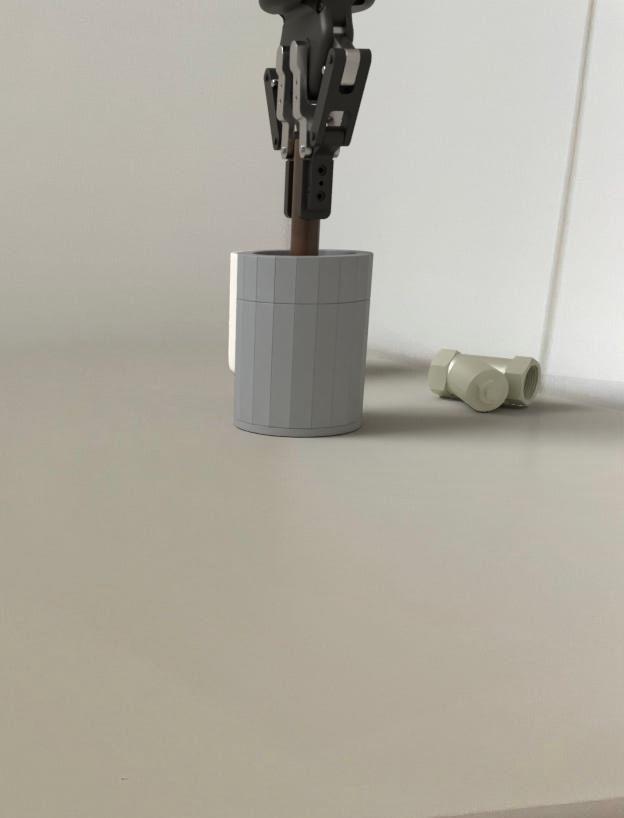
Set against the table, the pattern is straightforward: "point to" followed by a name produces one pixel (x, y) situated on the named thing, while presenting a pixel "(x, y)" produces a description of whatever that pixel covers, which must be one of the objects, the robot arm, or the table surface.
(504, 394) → the pipe fitting
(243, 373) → the cup
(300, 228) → the hammer
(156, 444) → the table surface
